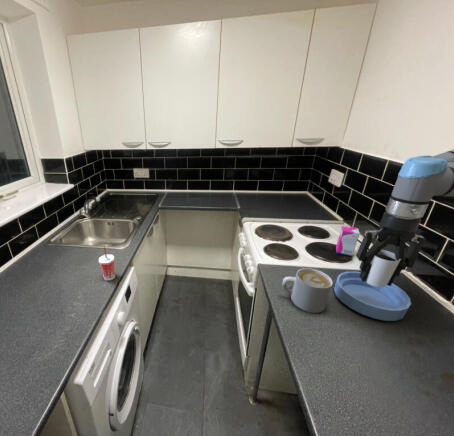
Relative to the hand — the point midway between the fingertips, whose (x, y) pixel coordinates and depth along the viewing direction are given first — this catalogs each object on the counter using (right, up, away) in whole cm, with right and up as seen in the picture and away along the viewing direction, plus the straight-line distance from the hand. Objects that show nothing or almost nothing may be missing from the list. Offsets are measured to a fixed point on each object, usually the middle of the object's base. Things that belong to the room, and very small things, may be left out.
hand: (374, 280), depth 73 cm
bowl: (0, -8, +3) cm, 8 cm away
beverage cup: (-90, -4, +20) cm, 92 cm away
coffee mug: (-20, -8, +5) cm, 22 cm away
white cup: (0, 0, 0) cm, 0 cm away
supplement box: (+13, +5, +30) cm, 33 cm away
